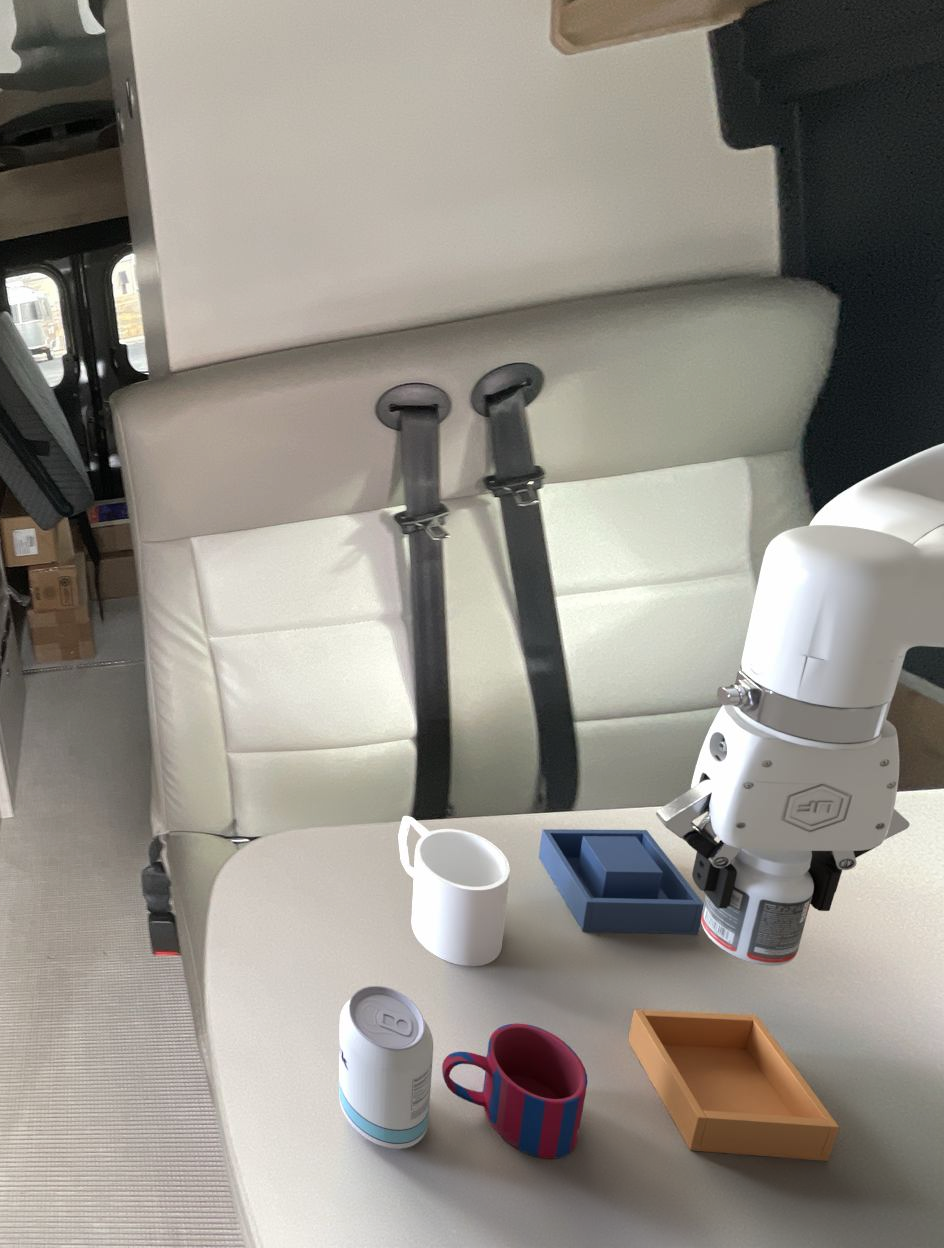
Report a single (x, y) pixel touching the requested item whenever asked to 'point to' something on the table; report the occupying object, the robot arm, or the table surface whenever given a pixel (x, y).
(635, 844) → the block
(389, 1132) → the beverage can
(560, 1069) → the cup
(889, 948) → the table surface
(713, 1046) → the tan bin
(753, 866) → the pill bottle
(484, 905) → the cup
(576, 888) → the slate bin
